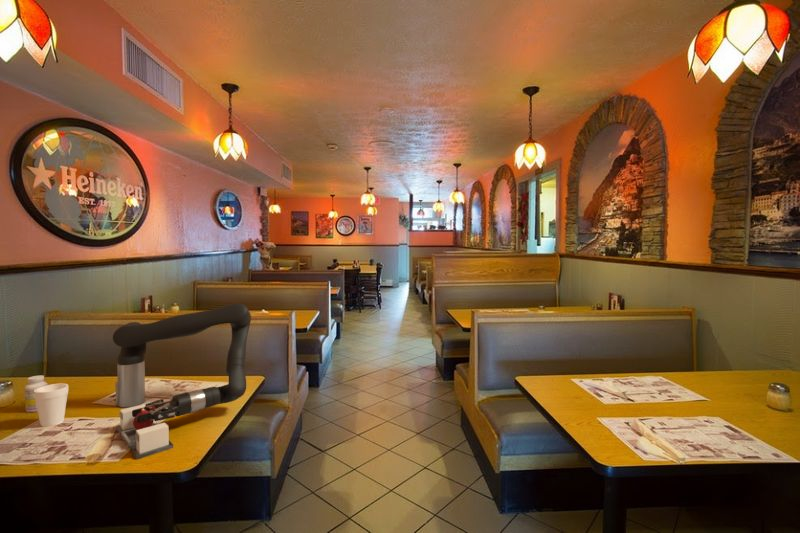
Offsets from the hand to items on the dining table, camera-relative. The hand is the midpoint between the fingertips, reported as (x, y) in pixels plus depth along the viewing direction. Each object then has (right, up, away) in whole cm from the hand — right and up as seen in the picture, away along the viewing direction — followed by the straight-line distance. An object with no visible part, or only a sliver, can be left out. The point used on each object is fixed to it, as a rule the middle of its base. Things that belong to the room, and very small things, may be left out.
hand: (134, 416), depth 130 cm
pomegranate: (+2, -6, +2) cm, 7 cm away
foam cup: (-38, -7, +12) cm, 41 cm away
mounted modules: (+1, -7, +2) cm, 8 cm away
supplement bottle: (-55, -6, +24) cm, 60 cm away
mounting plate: (+2, -8, +2) cm, 9 cm away
